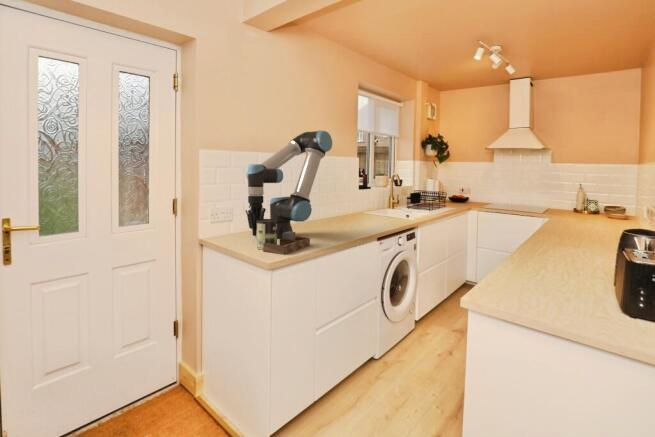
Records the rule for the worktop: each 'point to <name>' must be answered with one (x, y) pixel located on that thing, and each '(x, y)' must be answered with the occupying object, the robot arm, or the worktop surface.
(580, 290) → the worktop surface
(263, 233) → the coffee can
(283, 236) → the grey block
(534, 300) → the worktop surface
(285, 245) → the comb rack
